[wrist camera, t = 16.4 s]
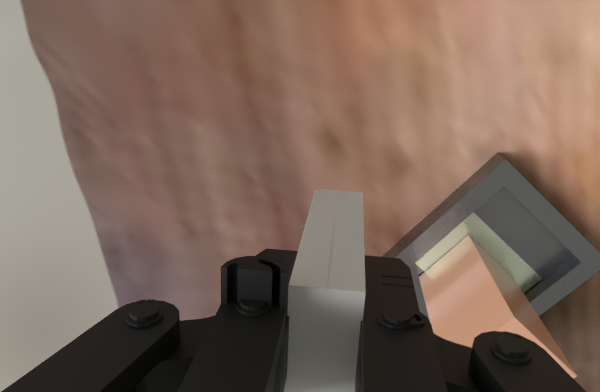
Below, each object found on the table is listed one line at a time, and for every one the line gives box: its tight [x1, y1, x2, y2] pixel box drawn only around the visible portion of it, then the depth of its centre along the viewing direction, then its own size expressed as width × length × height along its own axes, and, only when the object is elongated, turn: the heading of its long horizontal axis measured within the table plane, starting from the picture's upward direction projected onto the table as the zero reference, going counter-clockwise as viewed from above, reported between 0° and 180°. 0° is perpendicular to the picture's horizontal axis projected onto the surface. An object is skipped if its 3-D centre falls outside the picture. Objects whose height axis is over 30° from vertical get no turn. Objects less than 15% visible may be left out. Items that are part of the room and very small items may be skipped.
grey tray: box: [382, 153, 600, 321], centre depth 48 cm, size 28×13×2 cm, turn 137°
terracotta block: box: [419, 235, 577, 378], centre depth 40 cm, size 6×6×14 cm
